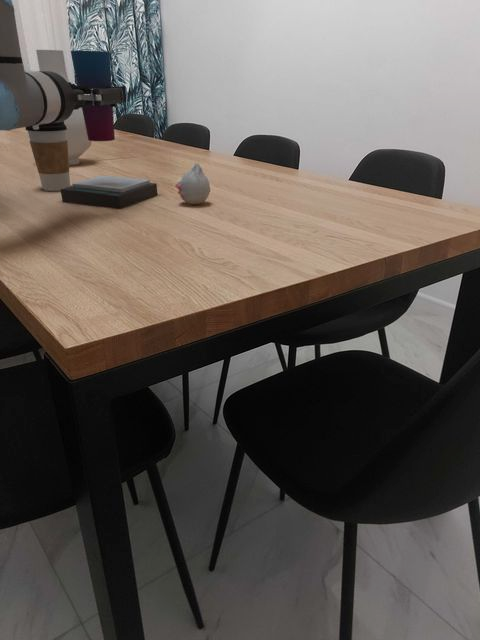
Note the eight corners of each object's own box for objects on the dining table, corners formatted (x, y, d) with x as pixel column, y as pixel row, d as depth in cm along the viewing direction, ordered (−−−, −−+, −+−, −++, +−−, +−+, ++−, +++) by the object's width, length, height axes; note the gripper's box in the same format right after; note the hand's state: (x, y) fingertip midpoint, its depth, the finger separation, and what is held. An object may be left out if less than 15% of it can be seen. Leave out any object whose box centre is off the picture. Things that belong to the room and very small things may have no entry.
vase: (35, 160, 148) (14, 50, 134) (93, 158, 154) (78, 52, 140) (39, 169, 135) (16, 48, 121) (102, 166, 141) (86, 50, 127)
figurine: (174, 201, 105) (171, 161, 101) (206, 199, 107) (205, 159, 103) (179, 208, 100) (177, 166, 96) (214, 206, 102) (212, 165, 98)
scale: (62, 201, 103) (59, 185, 101) (104, 189, 114) (102, 174, 113) (119, 208, 99) (117, 191, 97) (157, 195, 110) (156, 179, 108)
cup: (83, 138, 101) (70, 51, 93) (118, 137, 103) (108, 52, 95) (83, 142, 95) (70, 50, 88) (120, 141, 97) (110, 51, 90)
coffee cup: (33, 192, 110) (18, 117, 103) (41, 184, 117) (28, 114, 110) (72, 192, 111) (61, 117, 104) (79, 184, 118) (68, 114, 111)
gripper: (-7, 121, 83) (67, 112, 103) (99, 126, 80) (155, 115, 100) (-18, 69, 79) (61, 70, 99) (92, 72, 76) (151, 72, 96)
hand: (108, 93), depth 99 cm, fingers closed on cup, 6 cm apart
